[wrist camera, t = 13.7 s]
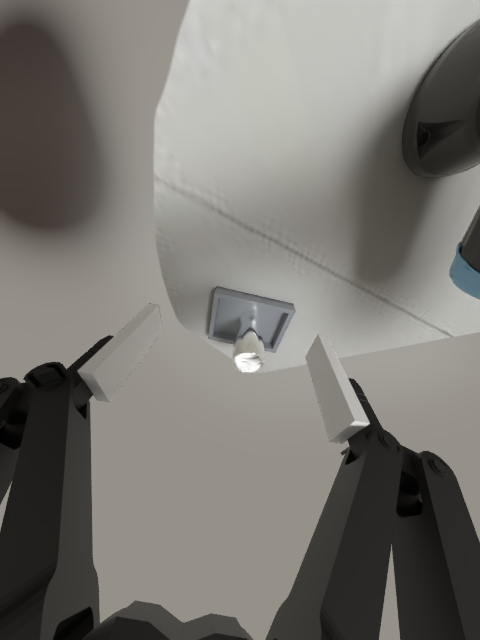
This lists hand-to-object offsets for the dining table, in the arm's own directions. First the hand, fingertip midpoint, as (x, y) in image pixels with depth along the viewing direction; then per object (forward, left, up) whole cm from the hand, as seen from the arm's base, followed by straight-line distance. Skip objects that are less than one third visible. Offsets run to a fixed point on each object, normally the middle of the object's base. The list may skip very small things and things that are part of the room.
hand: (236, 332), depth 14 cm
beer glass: (-5, +18, -27) cm, 33 cm away
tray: (-4, +18, -28) cm, 33 cm away
